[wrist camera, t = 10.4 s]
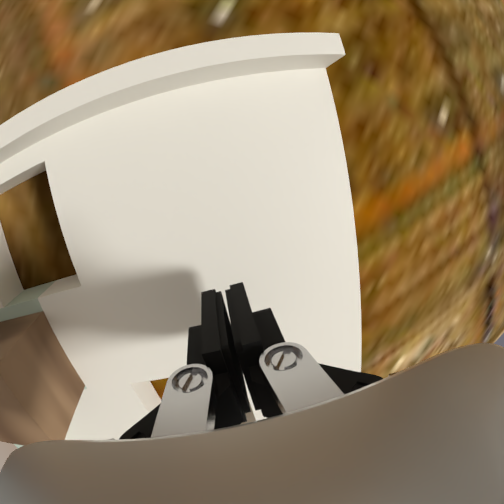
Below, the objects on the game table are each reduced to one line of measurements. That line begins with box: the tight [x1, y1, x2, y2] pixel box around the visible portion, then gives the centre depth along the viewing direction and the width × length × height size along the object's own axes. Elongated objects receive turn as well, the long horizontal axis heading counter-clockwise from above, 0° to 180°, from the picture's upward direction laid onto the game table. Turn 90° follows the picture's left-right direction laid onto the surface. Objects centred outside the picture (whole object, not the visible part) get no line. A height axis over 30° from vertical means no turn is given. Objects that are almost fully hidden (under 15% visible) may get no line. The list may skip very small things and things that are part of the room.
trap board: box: [0, 33, 361, 448], centre depth 12 cm, size 24×22×6 cm
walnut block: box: [0, 311, 85, 446], centre depth 10 cm, size 7×5×5 cm
